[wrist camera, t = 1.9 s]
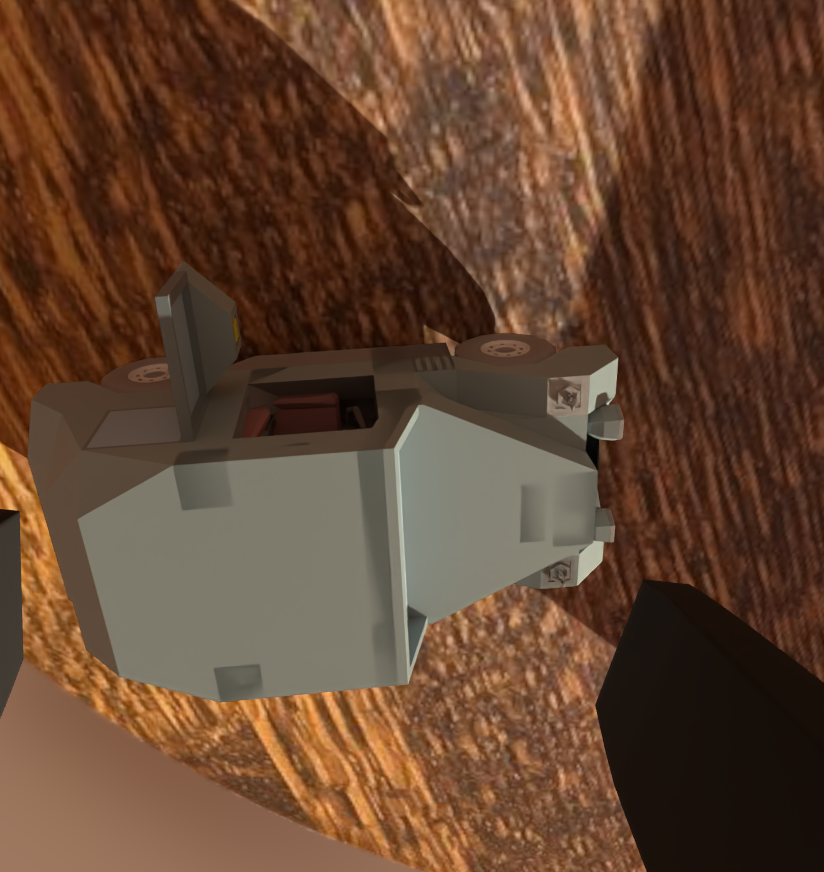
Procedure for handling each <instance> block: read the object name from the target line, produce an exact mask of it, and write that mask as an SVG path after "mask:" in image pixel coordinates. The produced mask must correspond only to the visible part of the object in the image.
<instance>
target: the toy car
mask: <svg viewBox="0 0 824 872" xmlns="http://www.w3.org/2000/svg"><path fill="white" fill-rule="evenodd" d="M155 302H156V308H157V313H158V318H159V323H160V328H161V334H162V339H163V344H164V349H165V355H166V356H163V357H156V358H148V359H143V360H139V361H135V362H131V363H128V364H125V365H123V366H121V367H118V368H116V369H114V370H112V371H111V372H110V373H108V374H107V375H106V376H105V377H103V378H102V379H101V384H100V386H99V385H97V384H94V383H92V382H89V381H79V382H65V383H51V384H45V386H44V387H43V388H42V389H41V390H40V391H39V392H38V393H37V394H36V395H35V396H34V398H33V399H32V401H31V415H30V428H29V441H28V454H27V458H28V461H29V465H30V468H31V472H32V475H33V478H34V482H35V485H36V489H37V492H38V496H39V499H40V502H41V506H42V509H43V513H44V516H45V520H46V523H47V526H48V530H49V533H50V537H51V540H52V544H53V547H54V551H55V554H56V557H57V561H58V564H59V568H60V571H61V575H62V578H63V581H64V585H65V588H66V592H67V595H68V599H69V600H70V601H72V602H73V606H74V609H75V613H76V616H77V620H78V623H79V626H80V630H81V633H82V637H83V640H84V644H85V647H86V650H87V651H88V652H90V653H91V654H92V655H93V656H95V657H96V658H97V659H98V660H100V661H101V662H102V663H103V664H105V665H106V666H107V667H108V668H110V669H111V670H112V671H113V672H115V673H116V674H117V675H118V676H120V677H123V678H127V679H131V680H135V681H139V682H143V683H146V684H150V685H154V686H158V687H162V688H166V689H170V690H174V691H178V692H182V693H186V694H190V695H193V696H197V697H201V698H205V699H209V700H213V701H217V702H229V701H239V700H250V699H260V698H270V697H281V696H291V695H301V694H312V693H322V692H332V691H343V690H353V689H363V688H374V687H384V686H394V685H405V684H408V682H409V679H410V676H411V673H412V670H413V667H414V664H415V661H416V658H417V655H418V652H419V649H420V646H421V643H422V640H423V637H424V634H425V631H426V628H427V625H428V624H433V623H435V622H437V621H439V620H441V619H443V618H445V617H447V616H449V615H451V614H453V613H455V612H457V611H459V610H461V609H463V608H465V607H467V606H469V605H471V604H473V603H475V602H477V601H479V600H481V599H483V598H485V597H487V596H489V595H491V594H493V593H495V592H497V591H499V590H501V589H503V588H505V587H507V586H509V585H511V584H516V585H521V586H526V587H532V588H537V589H548V588H559V587H570V586H578V585H579V584H580V583H581V582H582V581H583V580H584V579H585V578H586V577H587V576H588V575H589V574H590V573H591V572H592V571H593V570H594V569H595V568H596V567H597V566H598V565H599V564H600V563H601V562H602V558H603V546H604V542H614V531H615V524H614V520H613V517H612V513H611V509H601V507H600V501H599V496H598V490H597V481H598V463H599V439H602V440H618V439H622V438H623V426H624V418H623V415H622V412H621V409H620V406H619V403H618V404H611V405H609V403H610V402H611V401H612V399H613V398H614V397H615V394H616V381H617V368H618V357H617V356H616V355H615V354H614V353H613V352H612V351H611V350H610V349H609V348H608V347H607V346H606V345H591V346H577V347H567V348H565V349H563V350H561V351H559V352H558V353H556V347H555V346H553V345H552V344H550V343H549V342H548V341H546V340H544V339H540V338H537V337H534V336H530V335H523V334H515V333H502V334H489V335H482V336H478V337H475V338H472V339H468V340H466V341H464V342H463V343H461V344H460V345H459V346H457V347H456V349H455V356H451V355H450V352H449V350H448V347H447V345H446V343H434V344H420V345H406V346H391V347H377V348H362V349H348V350H333V351H319V352H304V353H290V354H276V355H261V356H254V357H251V358H248V359H246V360H243V361H240V362H238V363H235V364H233V363H234V361H235V360H236V359H237V357H238V354H239V351H240V348H241V345H242V342H241V335H240V328H239V321H238V315H237V308H236V302H235V301H234V300H233V299H231V298H230V297H229V296H227V295H226V294H225V293H224V292H222V291H221V290H220V289H219V288H217V287H216V286H215V285H214V284H212V283H211V282H210V281H208V280H207V279H206V278H205V277H203V276H202V275H201V274H200V273H198V272H197V271H196V270H195V269H193V268H192V267H191V266H190V265H188V264H187V263H186V262H184V261H183V262H182V263H181V264H180V265H179V267H178V268H177V269H176V271H175V272H174V273H173V274H172V276H171V277H170V278H169V279H168V281H167V282H166V283H165V284H164V286H163V287H162V288H161V289H160V291H159V292H158V293H157V295H156V296H155ZM373 418H375V419H373ZM341 421H346V424H343V423H342V422H341Z"/></svg>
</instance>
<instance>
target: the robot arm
mask: <svg viewBox="0 0 824 872" xmlns="http://www.w3.org/2000/svg"><path fill="white" fill-rule="evenodd" d="M22 661H23V628H22V590H21V551H20V512H19V511H14V510H5V509H0V718H1V715H2V713H3V710H4V708H5V706H6V703H7V700H8V698H9V695H10V693H11V690H12V687H13V685H14V682H15V680H16V677H17V674H18V672H19V669H20V667H21V664H22ZM595 706H596V711H597V715H598V720H599V724H600V729H601V733H602V738H603V742H604V747H605V751H606V755H607V759H608V763H609V766H610V770H611V774H612V778H613V782H614V785H615V788H616V791H617V794H618V797H619V799H620V802H621V805H622V808H623V810H624V813H625V816H626V818H627V821H628V824H629V826H630V829H631V831H632V834H633V837H634V839H635V842H636V845H637V847H638V850H639V853H640V855H641V858H642V860H643V863H644V866H645V868H646V871H647V872H824V682H822V681H821V680H820V679H818V678H817V677H816V676H814V675H813V674H812V673H810V672H809V671H808V670H807V669H805V668H804V667H803V666H801V665H800V664H799V663H797V662H796V661H795V660H793V659H792V658H791V657H790V656H788V655H787V654H786V653H784V652H783V651H782V650H780V649H779V648H778V647H776V646H775V645H774V644H773V643H771V642H770V641H769V640H767V639H766V638H765V637H763V636H762V635H761V634H759V633H758V632H757V631H755V630H754V629H753V628H751V627H750V626H749V625H748V624H746V623H745V622H743V621H742V620H741V619H739V618H738V617H737V616H735V615H734V614H733V613H731V612H730V611H729V610H727V609H726V608H724V607H723V606H722V605H720V604H719V603H717V602H716V601H715V600H713V599H712V598H710V597H709V596H707V595H706V594H704V593H703V592H701V591H699V590H698V589H696V588H695V587H693V586H691V585H690V584H682V583H673V582H664V581H655V580H646V579H643V581H642V584H641V586H640V589H639V592H638V594H637V597H636V599H635V602H634V605H633V607H632V610H631V613H630V615H629V618H628V620H627V623H626V626H625V628H624V631H623V634H622V636H621V639H620V641H619V644H618V647H617V649H616V652H615V655H614V657H613V660H612V662H611V665H610V668H609V670H608V673H607V676H606V678H605V681H604V683H603V686H602V689H601V691H600V694H599V697H598V699H597V702H596V704H595Z"/></svg>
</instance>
